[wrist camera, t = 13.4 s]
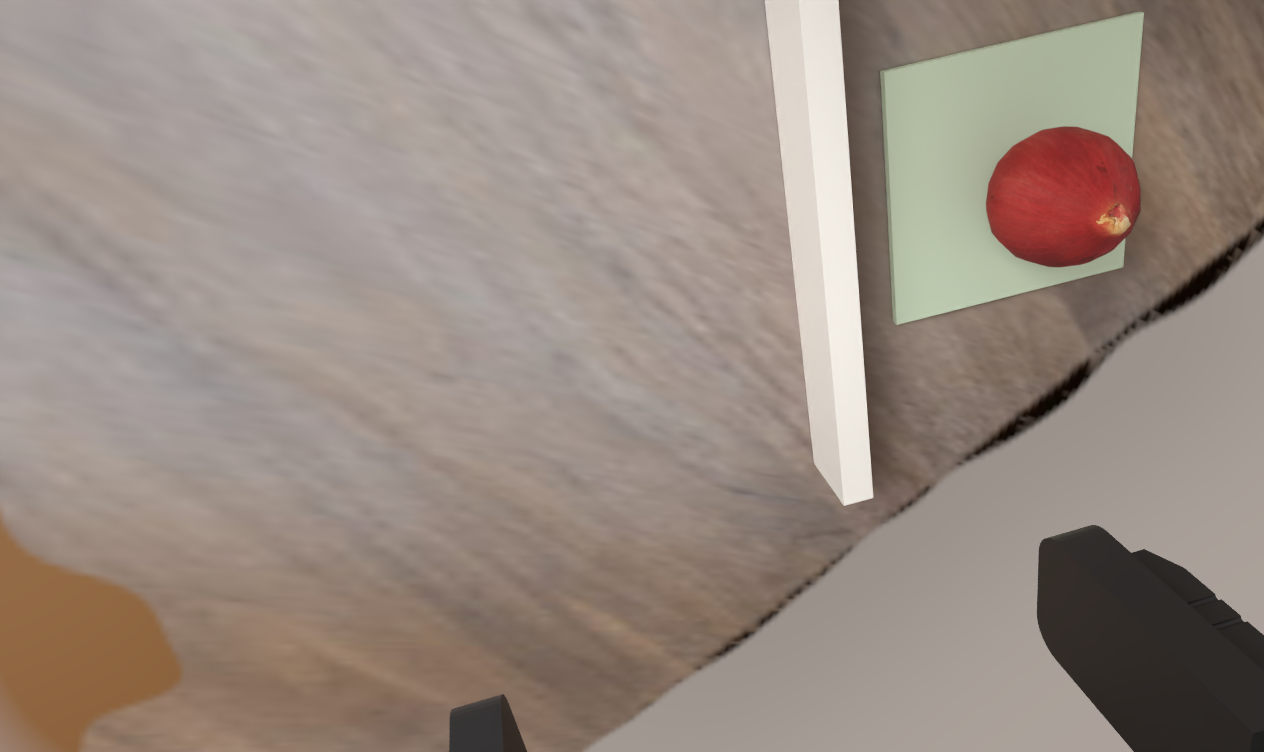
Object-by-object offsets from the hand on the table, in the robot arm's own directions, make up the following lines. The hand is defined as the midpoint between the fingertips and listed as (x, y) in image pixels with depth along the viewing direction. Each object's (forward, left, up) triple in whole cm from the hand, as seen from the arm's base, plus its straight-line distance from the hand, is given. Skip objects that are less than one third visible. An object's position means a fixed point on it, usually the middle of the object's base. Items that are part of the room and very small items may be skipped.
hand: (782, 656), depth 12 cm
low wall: (+4, +10, -28) cm, 30 cm away
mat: (+4, +20, -28) cm, 35 cm away
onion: (+4, +20, -27) cm, 34 cm away
